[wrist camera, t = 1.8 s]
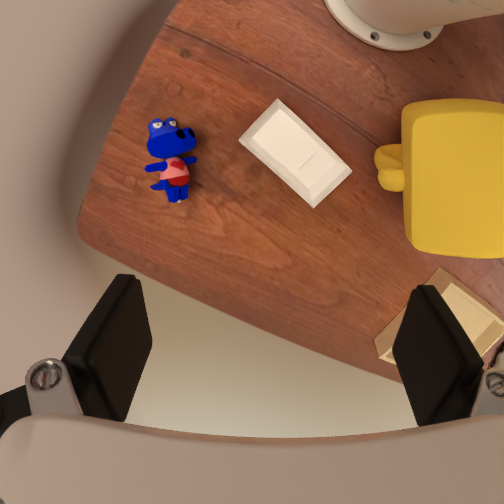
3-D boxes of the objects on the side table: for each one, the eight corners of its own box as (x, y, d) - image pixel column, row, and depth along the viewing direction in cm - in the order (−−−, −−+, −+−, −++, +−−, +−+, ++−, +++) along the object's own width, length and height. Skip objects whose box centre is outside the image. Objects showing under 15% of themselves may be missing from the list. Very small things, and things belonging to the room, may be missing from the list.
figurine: (142, 126, 23) (151, 114, 27) (142, 208, 28) (149, 186, 32) (200, 127, 24) (200, 115, 28) (194, 210, 29) (194, 187, 32)
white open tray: (352, 171, 27) (346, 164, 29) (277, 98, 24) (277, 97, 26) (313, 208, 29) (310, 198, 31) (237, 140, 26) (241, 136, 28)
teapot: (575, 265, 17) (533, 206, 26) (601, 127, 10) (540, 100, 19) (375, 261, 24) (377, 201, 33) (366, 101, 18) (367, 88, 27)
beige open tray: (373, 339, 40) (379, 358, 37) (439, 265, 34) (451, 282, 31) (443, 369, 43) (450, 385, 40) (499, 312, 37) (510, 327, 34)
